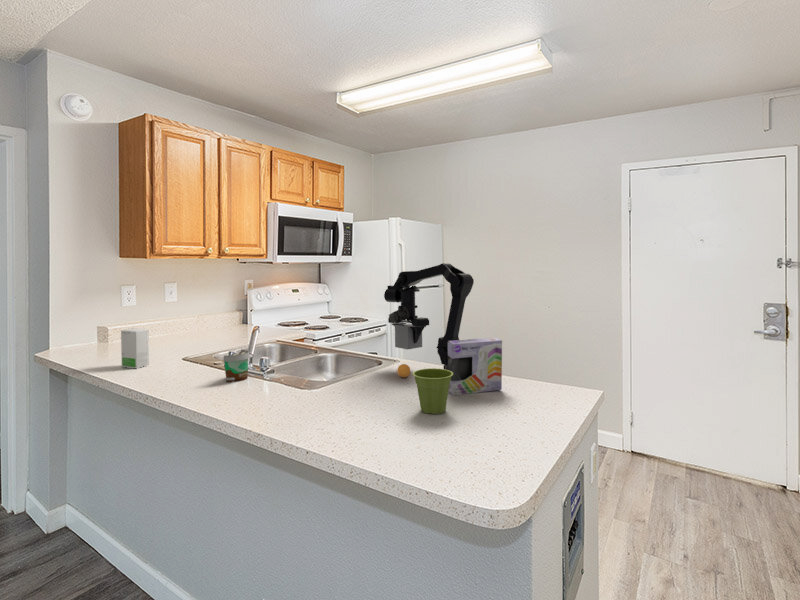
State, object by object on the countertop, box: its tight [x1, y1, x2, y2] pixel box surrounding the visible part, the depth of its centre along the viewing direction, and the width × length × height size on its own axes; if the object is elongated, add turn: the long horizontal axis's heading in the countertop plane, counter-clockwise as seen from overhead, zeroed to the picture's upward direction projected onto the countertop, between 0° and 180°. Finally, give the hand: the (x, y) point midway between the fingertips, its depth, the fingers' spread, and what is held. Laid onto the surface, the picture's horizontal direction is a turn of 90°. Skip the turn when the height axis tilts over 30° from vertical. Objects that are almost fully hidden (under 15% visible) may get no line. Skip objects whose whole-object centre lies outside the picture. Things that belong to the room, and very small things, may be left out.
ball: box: [396, 363, 411, 378], centre depth 168 cm, size 5×5×5 cm
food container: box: [222, 349, 251, 383], centre depth 165 cm, size 12×6×10 cm, turn 168°
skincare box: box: [120, 327, 150, 369], centre depth 185 cm, size 8×7×16 cm
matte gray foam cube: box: [394, 323, 423, 350], centre depth 178 cm, size 8×8×9 cm
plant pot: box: [412, 367, 453, 415], centre depth 130 cm, size 12×12×11 cm
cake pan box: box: [447, 337, 503, 396], centre depth 149 cm, size 19×5×18 cm, turn 105°
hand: (408, 341), depth 178 cm, fingers closed on matte gray foam cube, 8 cm apart
